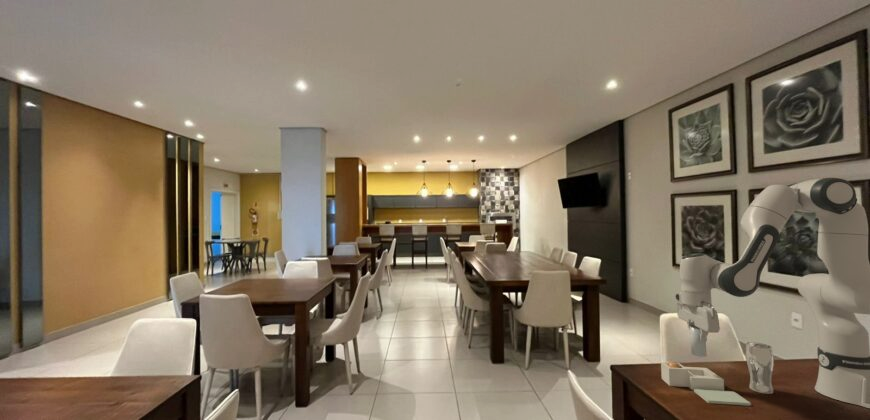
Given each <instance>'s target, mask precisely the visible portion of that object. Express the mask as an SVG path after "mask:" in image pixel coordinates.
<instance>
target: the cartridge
mask: <svg viewBox="0 0 870 420" xmlns="http://www.w3.org/2000/svg"><path fill="white" fill-rule="evenodd" d="M689 326H690V331H689V336H690V352H691V353H690V354H691V355H692V356H696V357H700V358H701V357H707V355H708V354H707V341H706V342H702V341H701V340H699V335H700V333H701V331H700V328H698V327H696V326H695V325H694V321H692V320H690V319H689Z"/></svg>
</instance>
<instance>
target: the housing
mask: <svg viewBox="0 0 870 420" xmlns="http://www.w3.org/2000/svg"><path fill="white" fill-rule="evenodd" d="M669 362H670V361H667V362H666V361H661V362H660V369H661V370H660V371H661V379H662V381H664V382H665V383H666V384H667V385H668V386H669V387H680V388H681V387H684V388H685V387H686V388H689V389H690V390H691V391H692V390H693V391H694V389H700V390H718V391H725V380H724V378H723V377H720V376H719V374H718V375H717V374H716V373H715V372H713V371H712V370H710V369H709V368H707V367H699V366H698V367H696V366H695V367H693V366H684V365H683V364H681V363H679V362H678V363H679V368H671V367H669Z"/></svg>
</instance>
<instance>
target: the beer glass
mask: <svg viewBox="0 0 870 420" xmlns="http://www.w3.org/2000/svg"><path fill="white" fill-rule="evenodd" d="M773 352H774V351H773V347H772V346H771V345H769V344H765V343H761V342H755V341H747V342H746V343H745V359H746V364H747V365H746V366H747V368H748V371H749V376H750V377H749V379H750V380H749V385H748V386H749V389H750V390H752V391H754V392H757V393H760V394H765V395H772V394H773V393H774V388H773V385H772V376H773V370H774V353H773Z"/></svg>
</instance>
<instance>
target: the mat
mask: <svg viewBox="0 0 870 420" xmlns="http://www.w3.org/2000/svg"><path fill="white" fill-rule="evenodd" d="M693 392H694V393H695V394H697V395H698V396H699V397H700V398H702V400H704V401H705V402H706V403H707V404H717V405H733V406H734V405H735V406H748V407H749V406H752V403H751V402H750V401H748V400H747V399H745V398H744V397H743V396H741V395H740V394H739V393H737V392H735V391H730V390H724V391H718V390H700V389H694V390H693Z"/></svg>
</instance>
